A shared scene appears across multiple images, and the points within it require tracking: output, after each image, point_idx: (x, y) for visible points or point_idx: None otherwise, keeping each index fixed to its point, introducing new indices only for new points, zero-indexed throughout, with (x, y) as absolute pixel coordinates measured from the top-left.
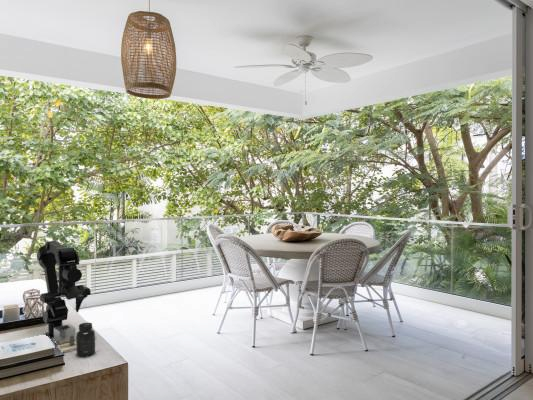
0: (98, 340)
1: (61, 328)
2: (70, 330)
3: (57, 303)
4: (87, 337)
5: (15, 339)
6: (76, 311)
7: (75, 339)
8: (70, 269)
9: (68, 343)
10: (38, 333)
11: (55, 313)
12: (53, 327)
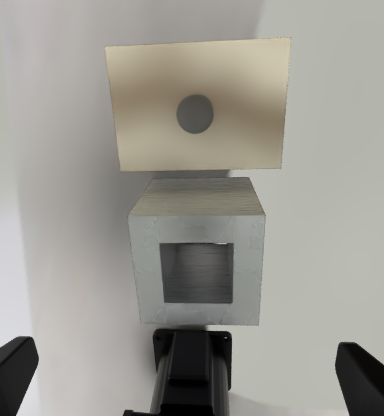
0: (25, 112)
1: (209, 296)
2: (172, 210)
3: None
4: None
5: None
6: (34, 360)
7: (149, 184)
8: None
9: (204, 157)
10: (246, 411)
11: (380, 385)
12: (213, 381)
